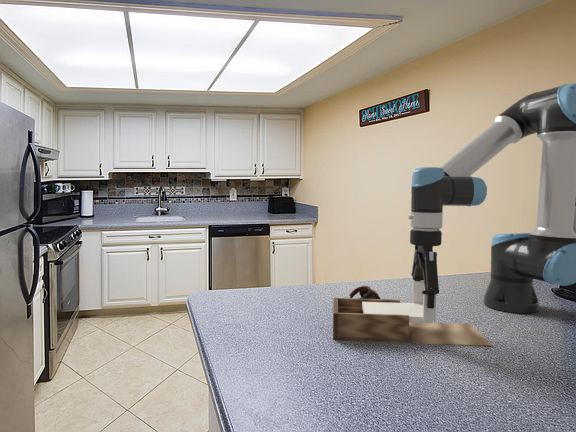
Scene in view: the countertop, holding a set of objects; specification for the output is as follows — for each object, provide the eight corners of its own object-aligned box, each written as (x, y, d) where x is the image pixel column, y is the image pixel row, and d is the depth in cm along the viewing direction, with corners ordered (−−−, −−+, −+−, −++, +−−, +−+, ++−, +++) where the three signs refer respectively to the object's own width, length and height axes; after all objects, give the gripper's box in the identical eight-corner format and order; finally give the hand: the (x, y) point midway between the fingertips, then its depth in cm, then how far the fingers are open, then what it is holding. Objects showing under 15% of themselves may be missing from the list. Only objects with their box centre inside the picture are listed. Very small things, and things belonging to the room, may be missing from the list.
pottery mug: (387, 316, 121) (376, 293, 119) (358, 328, 123) (346, 306, 121) (381, 295, 133) (370, 274, 131) (354, 306, 135) (343, 286, 132)
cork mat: (471, 325, 111) (471, 324, 111) (492, 346, 96) (492, 345, 96) (402, 322, 113) (402, 321, 113) (413, 343, 98) (413, 342, 98)
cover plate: (422, 308, 111) (422, 303, 111) (432, 323, 99) (432, 317, 99) (361, 307, 113) (361, 301, 113) (365, 321, 101) (365, 315, 101)
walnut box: (399, 323, 113) (399, 299, 113) (408, 342, 99) (409, 316, 98) (333, 320, 115) (333, 297, 115) (333, 339, 101) (333, 313, 100)
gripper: (402, 224, 116) (400, 299, 118) (420, 233, 92) (417, 327, 93) (430, 225, 116) (427, 300, 117) (455, 234, 91) (452, 329, 92)
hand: (422, 312), depth 105 cm, fingers open, 13 cm apart
